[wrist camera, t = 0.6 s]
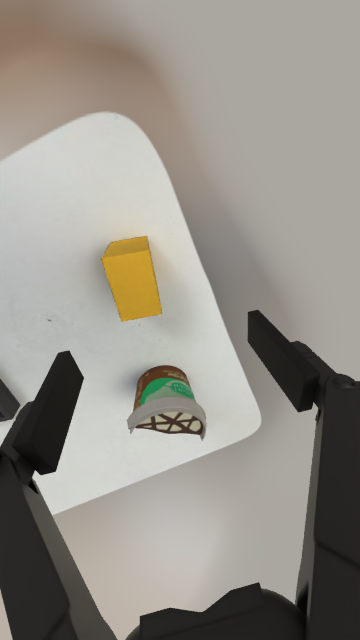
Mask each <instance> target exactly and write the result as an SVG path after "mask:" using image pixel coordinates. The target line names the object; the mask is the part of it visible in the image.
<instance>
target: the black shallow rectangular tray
mask: <svg viewBox="0 0 360 640" xmlns="http://www.w3.org/2000/svg"><path fill="white" fill-rule="evenodd" d="M19 407H20V404H19V402H18V401H17V400H16V399H15V397H14V396H13V395H12V393H11V392H10V391H9V390H8V388H7V387H6V386H5V385H4V383H3V382H2V381H1V379H0V422H2V421H7V420H11V419H13V418H14V416H15V414H16V412H17V411H18V409H19Z"/></svg>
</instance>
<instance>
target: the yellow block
mask: <svg viewBox="0 0 360 640" xmlns="http://www.w3.org/2000/svg"><path fill="white" fill-rule="evenodd" d="M101 260H102V263H103V266H104V269H105V272H106V275H107V278H108V281H109V284H110V287H111V291H112V294H113V297H114V300H115V303H116V306H117V309H118V312H119V315H120V318H121V321H122V322H123V321H128V320H133V319H138V318H143V317H148V316H153V315H159V314H162V310H161V304H160V299H159V293H158V287H157V283H156V278H155V273H154V268H153V263H152V258H151V254H150V249H149V244H148V239H147V236H144V237H138V238H132V239H127V240H121V241H115V242H111V243H110V245H109V247H108V248H107V250H106V252H105V253H104V255H103V257H102V258H101Z"/></svg>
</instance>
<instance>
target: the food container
mask: <svg viewBox="0 0 360 640" xmlns="http://www.w3.org/2000/svg"><path fill="white" fill-rule="evenodd" d="M127 422H128V429H130V434H131V433H132V431H133V430H134V428H143V429H151V430H155V431H159V432H163V433H167V434H176V433H188V434H197V435H200V437H201V440H202V441H203V439H204V437H205V433H206V416H205V412H204V410H203V408H202V407H201V406H200V405H199V404H198V403H196V400H195V398H194V395H193V393H192V390H191V387H190V385H189V382H188V380H187V377H186V375H185V373H184V372H183V371H182V370H180V369H178V368H176V367H173V366H158V367H155V368H152V369H150V370H148V371H147V372H145V373H144V374H143V375H142V376H141V377H140V379H139V381H138V384H137V390H136V396H135V403H134V409H133V413H132V414H131V415H130V416H129V418H128V420H127Z"/></svg>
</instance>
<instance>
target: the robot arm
mask: <svg viewBox="0 0 360 640" xmlns="http://www.w3.org/2000/svg"><path fill="white" fill-rule="evenodd" d="M248 343H249V344H250V345H251V347H252V348H253V350H254V351H255V352H256V354H257V355H258V357H259V358H260V359H261V361H262V362H263V364H264V365H265V366H266V368H267V369H268V371H269V372H270V373H271V375H272V376H273V378H274V379H275V380H276V382H277V383H278V385H279V386H280V387H281V389H282V390H283V392H284V393H285V394H286V396H287V397H288V398H289V400H290V401H291V403H292V404H293V406H294V407H295V409H296V410H297V411H298V412H302V411H306V410H310V409H312V406H313V402H314V403H315V404H316V406H317V407H318V412H317V415H316V419H315V420H316V430H315V439H314V449H313V458H312V467H311V476H310V487H309V495H308V504H307V513H306V523H305V532H304V541H303V551H302V559H301V565H300V570H299V576H298V583H297V591H296V600H295V605H294V604H293V603H292V602H291V601H289V600H288V599H286V598H285V597H284V596H282V595H280V594H278V593H276V592H273V591H270V590H267V589H261V587H260V584H259V582H258V583H255V584H251V585H248V586H245V587H241V588H237V589H234V590H231V591H229V592H228V593H227V594H226V595H224V596H223V597H222V598H220V599H219V600H218V601H217V602H215V603H214V604H213V605H212V606H210V607H209V608H208V609H207V610H205V611H203V612H194V611H188V610H181V609H175V608H167V609H164V610H160V611H157V612H153V613H150V614H146V615H142V616H140V625H139V626H137V627H136V628H135V629H134V630H133V631H132V632H131V633H130V634H129V635H128V637H127V638H126V640H360V381H355V380H354V379H352V378H351V377H349V376H346V375H343V374H337V373H336V372H334V370H333V369H331V368H330V367H329V366H328V365H327V364H326V363H325V362H324V361H323V360H322V359H321V358H320V357H319V356H317V355H316V354H315V353H314V352H312V350H311V349H310V348H309V347H308V346H307V345H305V344H303V343H301V342H299V341H295V342H291V343H290V342H289V341H288V340H287V339H286V338H285V337H284V336H283V335H282V334H281V333H280V332H279V331H278V330H277V328H275V326H274V325H273V324H272V323H271V322H269V321H268V319H267V318H266V317H265V316H264V315H263V314H262V313H260V311H259V310H255V311H250V312H248ZM83 380H84V377H83V375H82V373H81V371H80V370H79V368H78V366H77V364H76V362H75V360H74V358H73V357H72V355H71V353H70V351H64V352H60V353H58V354H57V356H56V358H55V360H54V362H53V364H52V366H51V368H50V370H49V372H48V374H47V376H46V378H45V380H44V382H43V384H42V386H41V388H40V390H39V392H38V394H37V396H36V398H35V400H34V401H32V402H28V403H27V404H26V405H25V406H24V407H23V408H22V409H21V410H20V412H19V414H18V415H17V417H16V421H14V423H13V425H12V428H10V430H9V432H8V434H7V436H6V437H5V439H4V441H3V443H2V445H1V447H0V589H1V593H2V598H3V602H4V606H5V610H6V614H7V618H8V622H9V626H10V630H11V634H12V638H13V640H117V638H116V636H115V635H114V633H113V631H112V630H111V628H110V627H109V625H108V624H107V623H106V622H105V621H104V619H103V617H102V616H101V614H100V612H99V610H98V608H97V606H96V604H95V602H94V600H93V598H92V596H91V594H90V592H89V590H88V588H87V586H86V584H85V582H84V580H83V578H82V576H81V574H80V572H79V570H78V568H77V566H76V564H75V562H74V560H73V557H72V555H71V554H70V551H69V549H68V547H67V545H66V543H65V541H64V539H63V537H62V535H61V533H60V531H59V529H58V527H57V525H56V523H55V521H54V519H53V517H52V515H51V513H50V511H49V509H48V507H47V505H46V502H45V500H44V498H43V496H42V494H41V492H40V490H39V488H38V486H37V484H36V482H35V481H34V480H33V479H32V476H33V474H34V471H35V470H36V471H37V472H38V473H39V474H40V475H44V474H48V473H52V472H56V469H57V466H58V462H59V459H60V456H61V453H62V449H63V446H64V443H65V439H66V436H67V433H68V429H69V426H70V423H71V419H72V416H73V413H74V409H75V406H76V403H77V399H78V396H79V393H80V389H81V386H82V383H83Z"/></svg>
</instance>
